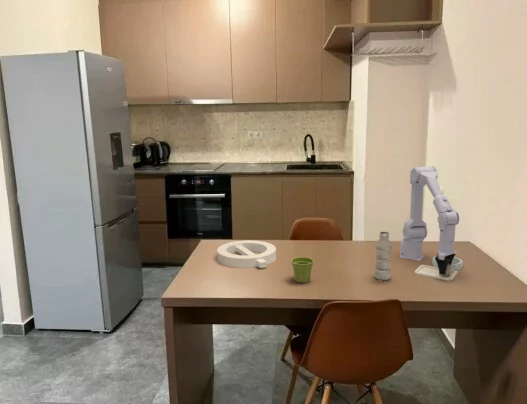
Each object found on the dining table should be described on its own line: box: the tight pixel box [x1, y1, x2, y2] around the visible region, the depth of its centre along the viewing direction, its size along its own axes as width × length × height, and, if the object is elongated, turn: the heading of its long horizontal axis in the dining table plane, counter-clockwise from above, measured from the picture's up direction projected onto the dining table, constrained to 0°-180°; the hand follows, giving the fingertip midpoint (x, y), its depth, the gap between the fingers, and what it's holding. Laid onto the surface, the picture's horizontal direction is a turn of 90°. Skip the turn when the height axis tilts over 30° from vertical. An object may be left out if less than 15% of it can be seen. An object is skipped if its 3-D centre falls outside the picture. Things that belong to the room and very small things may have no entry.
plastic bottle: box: [374, 231, 393, 282], centre depth 179 cm, size 6×7×20 cm
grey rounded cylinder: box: [439, 264, 451, 277], centre depth 183 cm, size 4×4×5 cm
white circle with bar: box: [216, 239, 277, 269], centre depth 211 cm, size 28×28×5 cm
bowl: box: [431, 255, 464, 271], centre depth 194 cm, size 12×12×3 cm
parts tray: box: [413, 264, 459, 282], centre depth 186 cm, size 15×11×1 cm
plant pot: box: [290, 256, 315, 284], centre depth 181 cm, size 9×9×9 cm
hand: (444, 271), depth 183 cm, fingers open, 7 cm apart
